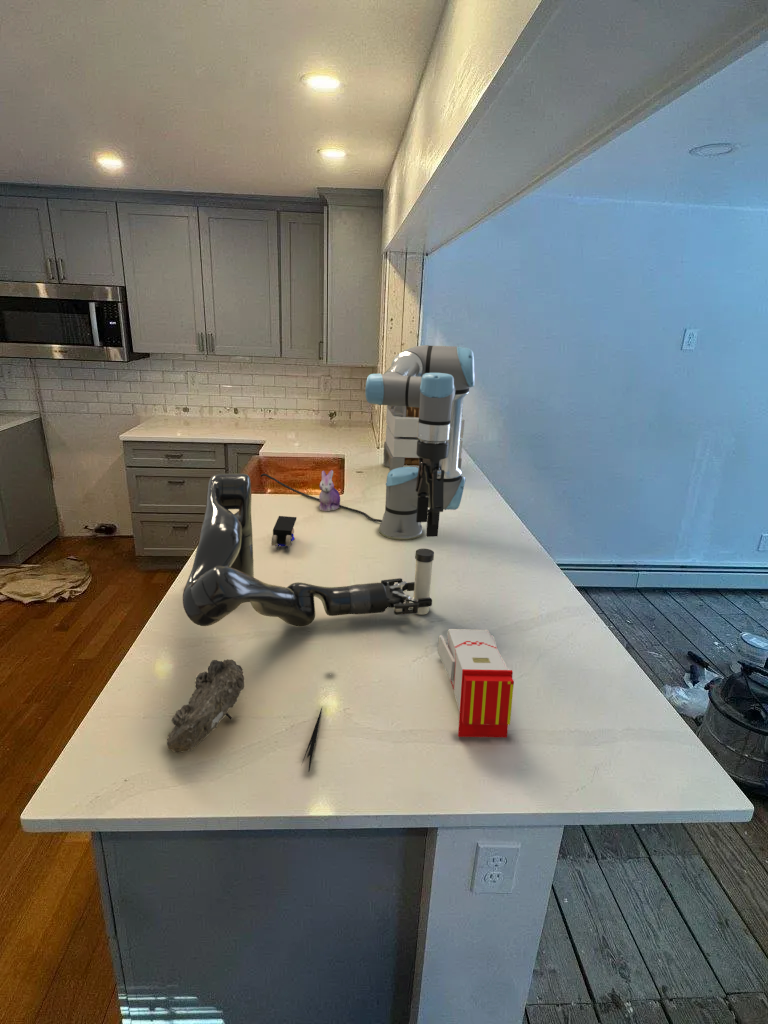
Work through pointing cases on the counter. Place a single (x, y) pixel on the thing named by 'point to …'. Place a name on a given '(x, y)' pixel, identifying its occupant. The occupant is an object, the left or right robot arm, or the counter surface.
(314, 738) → the feather
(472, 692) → the toy
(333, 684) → the counter surface
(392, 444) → the transformer
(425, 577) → the white cylinder
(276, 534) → the figurine character
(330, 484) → the figurine
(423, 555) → the lid
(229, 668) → the fossil
